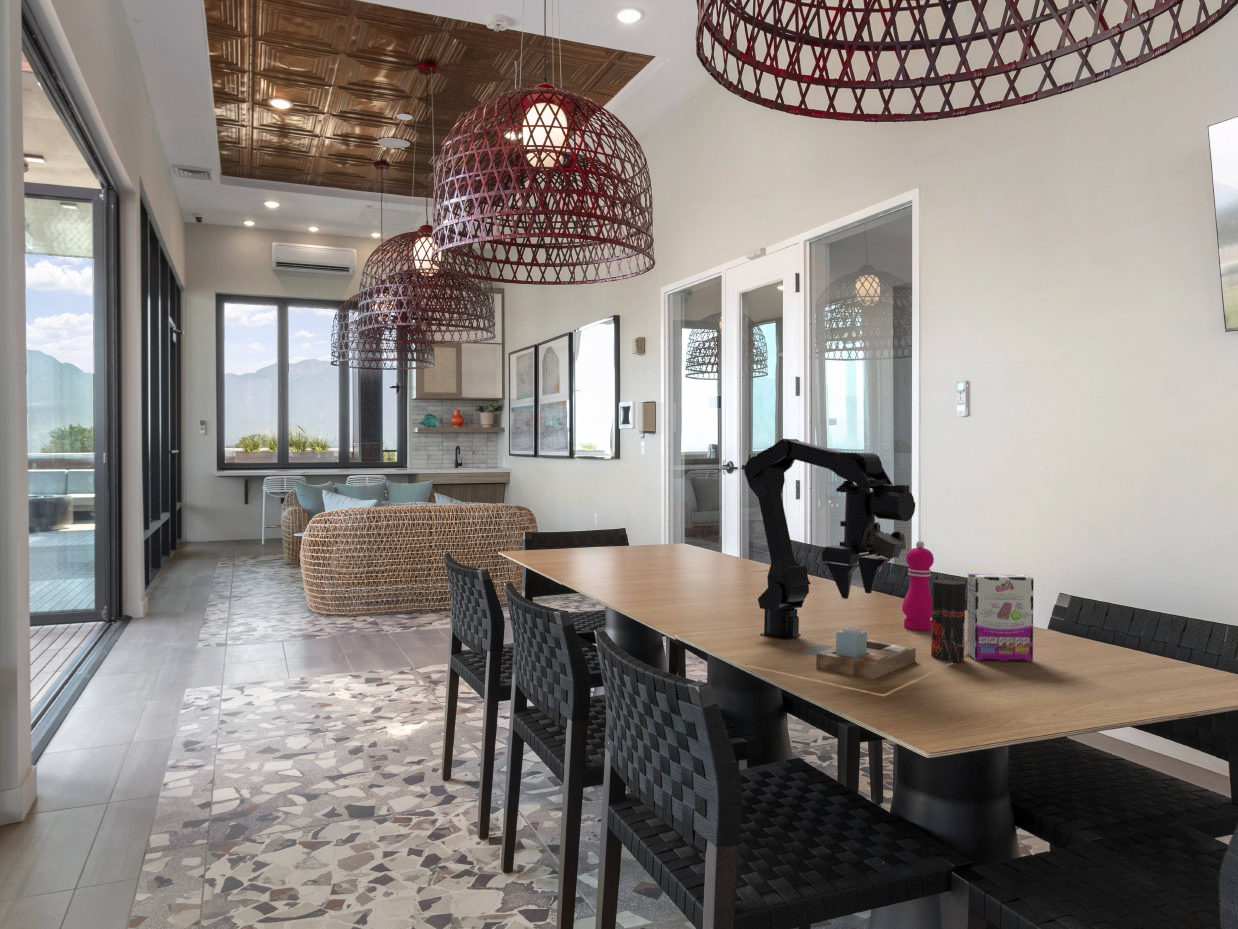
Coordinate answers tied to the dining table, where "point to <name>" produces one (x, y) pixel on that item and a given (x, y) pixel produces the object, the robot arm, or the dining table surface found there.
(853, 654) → the plug
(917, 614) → the pepper mill
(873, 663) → the socket block
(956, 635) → the deodorant
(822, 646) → the pad
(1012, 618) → the candy bar box
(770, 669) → the dining table surface
